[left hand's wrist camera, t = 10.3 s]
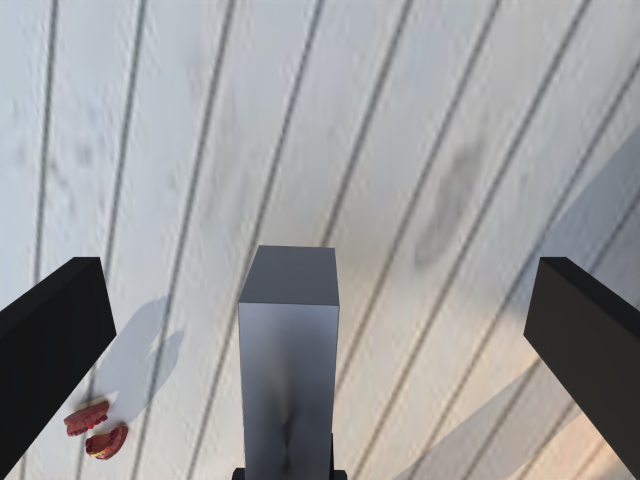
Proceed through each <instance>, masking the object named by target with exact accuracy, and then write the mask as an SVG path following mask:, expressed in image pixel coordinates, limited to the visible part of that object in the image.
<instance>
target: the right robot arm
mask: <svg viewBox="0 0 640 480" xmlns="http://www.w3.org/2000/svg"><path fill="white" fill-rule="evenodd" d="M232 480H245V468H236V469H235V471H234V472H233V476H232ZM329 480H347V474H346V472H345V470H334V456H333V433H332V435H331V451H330V467H329Z"/></svg>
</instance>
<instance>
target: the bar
mask: <svg viewBox="0 0 640 480" xmlns="http://www.w3.org/2000/svg"><path fill="white" fill-rule="evenodd" d="M238 317H239V342H240V366H241V391H242V415H243V440H244V465H245V480H329V467H330V451H331V435H332V419H333V403H334V387H335V370H336V354H337V338H338V322H339V294H338V282H337V270H336V258H335V248H321V247H292V246H264V245H259V247H258V250H257V252H256V255H255V258H254V260H253V263H252V266H251V268H250V271H249V274H248V277H247V279H246V282H245V285H244V287H243V290H242V293H241V295H240V298H239V301H238Z"/></svg>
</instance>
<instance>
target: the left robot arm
mask: <svg viewBox="0 0 640 480" xmlns="http://www.w3.org/2000/svg"><path fill="white" fill-rule="evenodd" d="M116 335H117V334H116V329H115V325H114V320H113V316H112V311H111V306H110V302H109V297H108V293H107V288H106V284H105V279H104V274H103V270H102V265H101V261H100V257H73V258H72V259H71V260H69V261H68V262H67V263H65V264H64V265H62V266H61V267H60V268H58V269H57V270H56V271H54V272H53V273H52V274H50V275H49V276H48V277H46V278H45V279H44V280H42V281H41V282H39V283H38V284H37V285H35V286H34V287H33V288H31V289H30V290H29V291H27V292H26V293H25V294H23V295H22V296H21V297H19V298H18V299H17V300H15V301H14V302H12V303H11V304H10V305H8V306H7V307H6V308H4V309H3V310H2V311H0V480H4V478H5V477H6V476H7V475H8V473H9V472H10V471H11V470H12V468H13V467H14V466H15V464H16V463H17V462H18V461H19V459H20V458H21V457H22V455H23V454H24V453H25V452H26V450H27V449H28V448H29V446H30V445H31V444H32V443H33V441H34V440H35V439H36V438H37V436H38V435H39V434H40V432H41V431H42V430H43V429H44V427H45V426H46V425H47V423H48V422H49V421H50V420H51V418H52V417H53V416H54V415H55V413H56V412H57V411H58V409H59V408H60V407H61V406H62V404H63V403H64V402H65V400H66V399H67V398H68V397H69V395H70V394H71V393H72V391H73V390H74V389H75V388H76V386H77V385H78V384H79V383H80V381H81V380H82V379H83V377H84V376H85V375H86V374H87V372H88V371H89V370H90V368H91V367H92V366H93V365H94V363H95V362H96V361H97V359H98V358H99V357H100V356H101V354H102V353H103V352H104V351H105V349H106V348H107V347H108V345H109V344H110V343H111V342H112V340H113V339H114V338H115V336H116ZM523 335H524V336H525V338H526V339H527V340H528V342H529V343H530V344H531V345H532V347H533V348H534V349H535V351H536V352H537V353H538V354H539V356H540V357H541V358H542V359H543V361H544V362H545V363H546V365H547V366H548V367H549V368H550V370H551V371H552V372H553V374H554V375H555V376H556V377H557V379H558V380H559V381H560V383H561V384H562V385H563V386H564V388H565V389H566V390H567V391H568V393H569V394H570V395H571V397H572V398H573V399H574V400H575V402H576V403H577V404H578V406H579V407H580V408H581V409H582V411H583V412H584V413H585V415H586V416H587V417H588V418H589V420H590V421H591V422H592V423H593V425H594V426H595V427H596V429H597V430H598V431H599V432H600V434H601V435H602V436H603V438H604V439H605V440H606V441H607V443H608V444H609V445H610V446H611V448H612V449H613V450H614V452H615V453H616V454H617V455H618V457H619V458H620V459H621V461H622V462H623V463H624V464H625V466H626V467H627V468H628V470H629V471H630V472H631V473H632V475H633V476H634V477H635V478H636V480H640V311H638V310H637V309H636V308H634V307H633V306H632V305H630V304H629V303H628V302H626V301H625V300H623V299H622V298H621V297H619V296H618V295H617V294H615V293H614V292H613V291H611V290H610V289H609V288H607V287H606V286H605V285H603V284H602V283H601V282H599V281H598V280H596V279H595V278H594V277H592V276H591V275H590V274H588V273H587V272H586V271H584V270H583V269H582V268H580V267H579V266H578V265H576V264H575V263H573V262H572V261H571V260H569V259H568V258H567V257H540V261H539V265H538V270H537V274H536V279H535V284H534V288H533V293H532V297H531V302H530V306H529V311H528V316H527V320H526V325H525V329H524V334H523Z"/></svg>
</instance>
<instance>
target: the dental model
mask: <svg viewBox="0 0 640 480" xmlns="http://www.w3.org/2000/svg"><path fill="white" fill-rule="evenodd" d="M108 409H109V405H108V403H107V401H105V402H102V403H99V404H96V405H94V406H91V407H88V408H85V409H83V410H80V411H77V412H75V413H73V414H71V415H69V416H68V417H67V418H65V419H64V423H65V425H68V426H67V434H68V436H69V437H70V436H72V437H73V436H77V435H80V434H82V433H83V432H86V431H87V430H88V429H92V428H93V427H94V425H98V424H99V423H101V422H103V421H105V420H107V418H108V417H107V415H106V414H107V412H108ZM82 430H83V431H82ZM127 433H128V428H127V427H125V426H120V427H116V428H115V429H114V430H112V431H111V433H109V434H105V435H94V436H92V437H91V438H88V439H87V440H86V442H85V444H86V445H85V446H86V452H87V454H88V455H89V456H93V457H96V458H97V459H101V460H108V459H109V458H111V457H112V456H113V455H115V454H116V453H117V452H118V451H119V450H120V448H121V447H122V445H123V443H124V441H125V439H126V436H127Z"/></svg>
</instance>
